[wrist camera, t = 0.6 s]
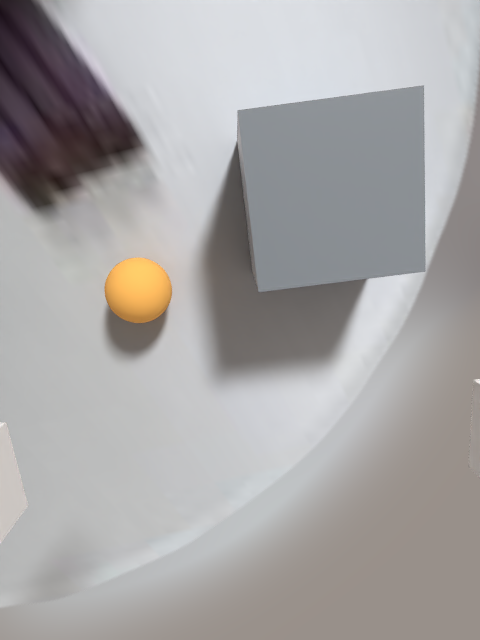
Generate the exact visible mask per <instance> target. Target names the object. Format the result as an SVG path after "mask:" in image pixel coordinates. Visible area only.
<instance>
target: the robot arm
mask: <svg viewBox="0 0 480 640" xmlns="http://www.w3.org/2000/svg"><path fill="white" fill-rule="evenodd" d="M471 417H472V418H471V433H470V450H469V468H470V469H471V470H472V471H473V472H474V473H475V474H476V475H477V476H478V477H479V478H480V379H477V380H473V396H472V414H471ZM27 506H28V503H27V499H26V495H25V491H24V488H23V484H22V480H21V476H20V472H19V469H18V465H17V461H16V457H15V454H14V450H13V446H12V442H11V439H10V435H9V431H8V427H7V424H6V422H5V423H0V544H1V542H2V541H3V540H4V538H5V537H6V536H7V534H8V533H9V531H10V530H11V529H12V527H13V526H14V524H15V523H16V522H17V520H18V519H19V518H20V516H21V515H22V513H23V512H24V511H25V509H26V508H27Z"/></svg>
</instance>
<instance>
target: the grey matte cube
mask: <svg viewBox="0 0 480 640" xmlns="http://www.w3.org/2000/svg"><path fill="white" fill-rule="evenodd" d="M237 144H238V153H239V161H240V170H241V178H242V187H243V196H244V204H245V213H246V221H247V230H248V238H249V247H250V256H251V264H252V273H253V276H254V279H255V283H256V286H257V289H258V292H264V291H272V290H280V289H288V288H297V287H305V286H313V285H321V284H329V283H337V282H345V281H353V280H361V279H369V278H377V277H385V276H393V275H401V274H409V273H417V272H425V164H424V86H416V87H409V88H401V89H394V90H386V91H379V92H371V93H364V94H356V95H349V96H341V97H334V98H327V99H319V100H312V101H304V102H297V103H289V104H282V105H274V106H267V107H259V108H252V109H244V110H238V121H237Z"/></svg>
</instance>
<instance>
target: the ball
mask: <svg viewBox="0 0 480 640" xmlns="http://www.w3.org/2000/svg"><path fill="white" fill-rule="evenodd" d="M171 296H172V286H171V282H170V279H169V277H168V275H167V273H166V272H165V270H164V269H163V268H162V267H161V266H159V265H158V264H157V263H155V262H153V261H151V260H148V259H145V258H131V259H127V260H124V261H122V262H120V263H119V264H117V265H116V266H115V267H114V268H113V269H112V270H111V272H110V273H109V275H108V277H107V279H106V283H105V297H106V300H107V303H108V305H109V307H110V308H111V310H112V311H113V312H114V313H115V314H116V315H117V316H119V317H120V318H122V319H124V320H126V321H129V322H133V323H144V322H149V321H152V320H154V319H156V318H157V317H159V316H160V315H161V314H162V313H163V312H164V311H165V310H166V309H167V307H168V305H169V303H170V300H171Z"/></svg>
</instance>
